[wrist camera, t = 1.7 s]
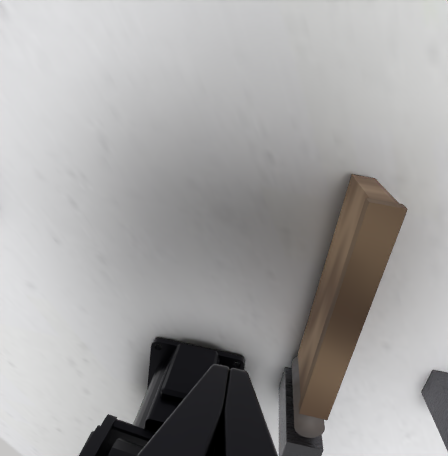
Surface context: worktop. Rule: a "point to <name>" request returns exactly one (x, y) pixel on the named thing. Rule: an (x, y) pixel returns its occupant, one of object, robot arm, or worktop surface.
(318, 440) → the gate frame
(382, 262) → the gate
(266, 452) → the robot arm
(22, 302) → the worktop surface
